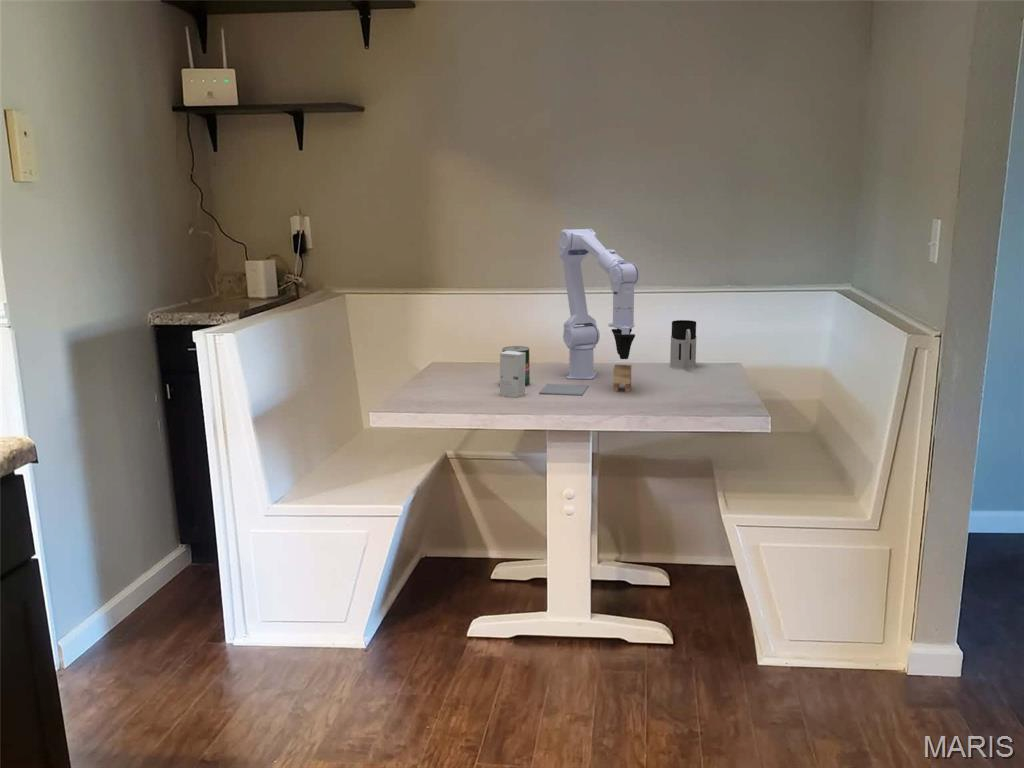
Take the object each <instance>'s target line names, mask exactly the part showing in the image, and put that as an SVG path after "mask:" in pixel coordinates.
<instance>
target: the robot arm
mask: <svg viewBox="0 0 1024 768" xmlns="http://www.w3.org/2000/svg"><path fill="white" fill-rule="evenodd" d="M557 245H558V251H559V258H560V260H562V266H563V273H564V274H563V275H564V280H565V281H564V282H565V287H566V292H567V293H566V294H567V302H568V307H569V314H570V315H569V318H568V319H567V320H566V321H565V322H564V323H563V333H562V339H563V343H564V344H565V346H566V348H567V349H569V350H568V351H569V354H568V355H569V356H568V357H569V363H568V364H569V367H568V369H569V372H568V375H567V376H566V377H565V378H566V379H569V380H593V379H594V378H595V376H596V375H597V374H598V372H597V371H594V369H595V368H594V367H595V366H594V364H595V363H594V361H595V360H594V348H596V347H597V344H598V343H599V342H600V337H601V334H600V330H599V328H598V325H597V320H596V319H595V318H593V317H592V316H591V315H590V314H589V313H588V311H589V310H588V305H587V299H586V293H585V292H586V291H585V285H584V276H583V272H582V271H583V269H582V265H581V264H582V263H581V262H582V261H583V260H584V259H586V258H587V257H588V256H589V254H590V255H592V256H593V257H595V258H596V259H597V264H598V266H599V267H600V268H601V269H602V270H603V271H604V272H605V273H606V274H607V275H608V279H609V282H610V290H611V291H612V323H608V324H607V325H608V327H609V328H612V329H611V332H612V334H613V337H614V341H615V346H616V347H615V348H616V351H617V355H619V358H620V360H628V359H629V357H630V352H631V347H632V344H633V341H634V340H635V337H636V335H635V333H632V331H633V328H634V327H635V323H634V321H635V319H634V317H635V316H634V312H635V284H637V283H638V280H639V277H640V272H639V268H638V266H637V265H636V264H635V263H634V262H627V261H625V259H624V258H622V257H621V256H620V255H618V253H617V252H616V250H615V249H606V247H605V246H604V245H603V244H602V243H601V242H600V241H599V240H598V237H597V232H595V231H594V230H593V229H592V228H585V229H583V228H582V229H581V228H579V229H577V228H575V229H567V228H564V229H562V230H561V231H560V234H559V236H558V238H557Z"/></svg>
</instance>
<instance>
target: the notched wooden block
mask: <svg viewBox="0 0 1024 768" xmlns="http://www.w3.org/2000/svg"><path fill="white" fill-rule="evenodd" d="M622 384H623V385H625V387H624V388H625V389H624V391H625V393H630V392H631V389H632V364H614V366H613V384H612V385H613V386H612V387H613V388H612V389H613V391H612V392H615V393H617V392H619V389H620V385H622Z"/></svg>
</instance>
